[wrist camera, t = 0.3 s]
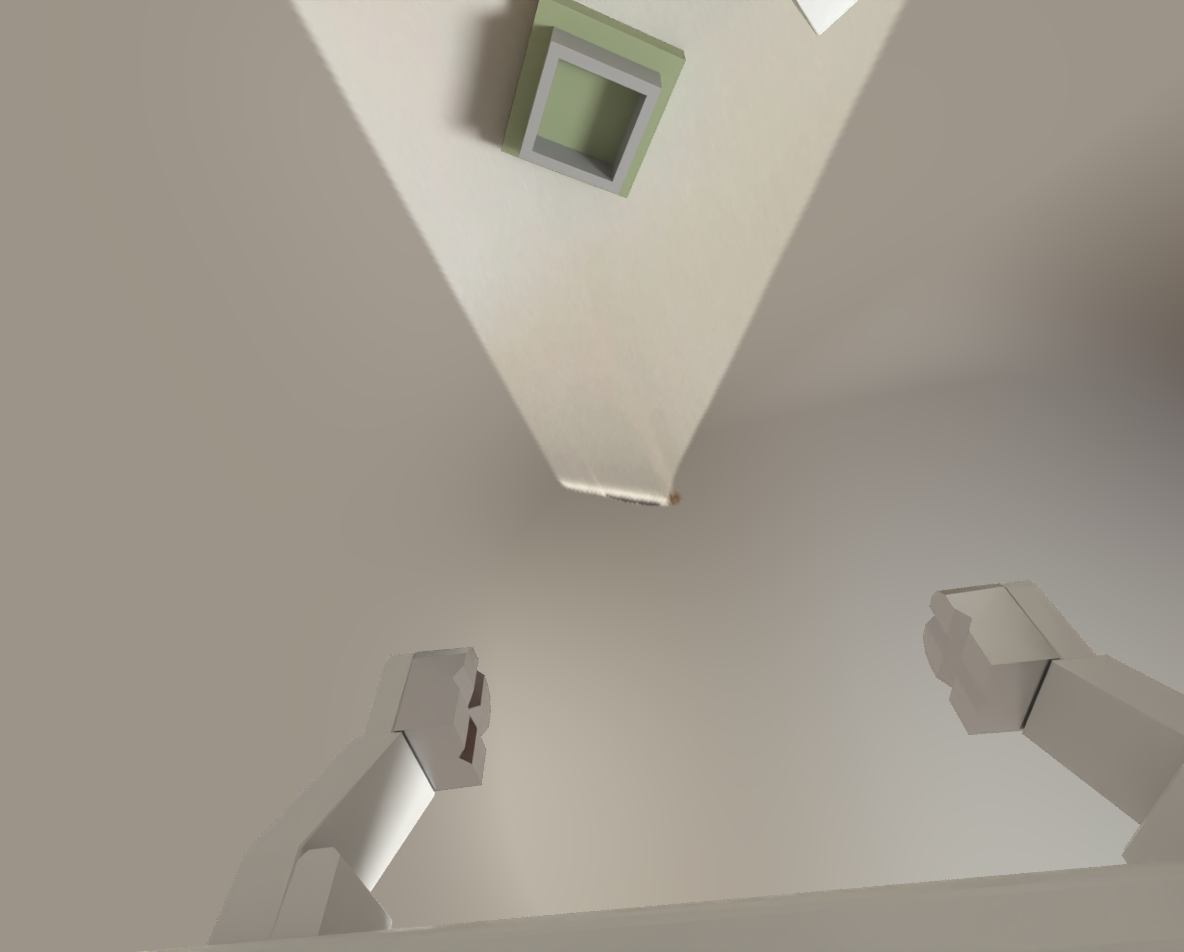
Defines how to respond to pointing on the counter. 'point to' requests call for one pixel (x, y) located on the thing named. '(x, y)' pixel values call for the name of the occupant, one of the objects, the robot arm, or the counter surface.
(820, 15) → the supplement box
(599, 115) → the grey-rimmed base plate
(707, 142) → the counter surface
